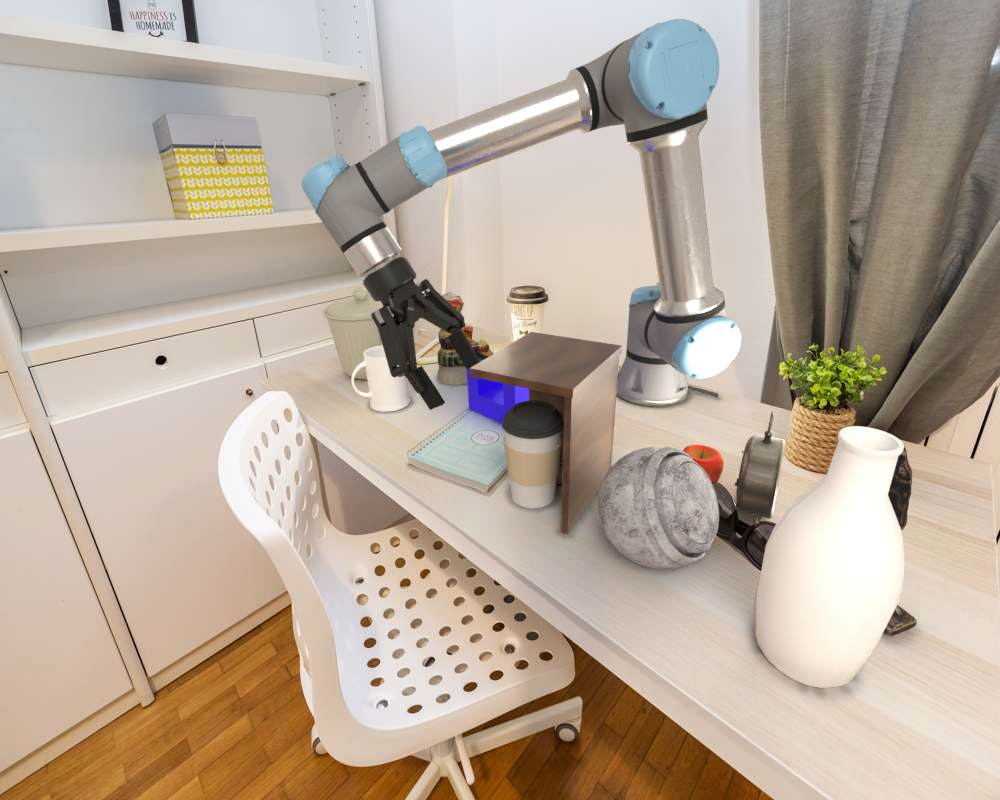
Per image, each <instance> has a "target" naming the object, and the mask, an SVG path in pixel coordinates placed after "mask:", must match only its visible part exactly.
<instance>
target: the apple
mask: <svg viewBox="0 0 1000 800" xmlns="http://www.w3.org/2000/svg"><path fill="white" fill-rule="evenodd" d="M682 451H684V452H686V453H687V454H689V455H690V456H691V457H692V458H693V461H695V462H697V464H699V465H700V466H701V467H702V468H703V469H704V470H705V472H706V473H707V474H708V476H709V478H710V480H711V482H715V483H717V484H718V483H719V481H720V478H721V476H722V473H723V471H724V464H725V462H724V458H723V456H722V453H721V452H719V451H718V450H717V449H715V448H713V447H710V446H707V445H702V444H690V445H687V446H685V447H684V449H683V450H682Z"/></svg>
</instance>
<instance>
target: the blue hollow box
mask: <svg viewBox="0 0 1000 800" xmlns="http://www.w3.org/2000/svg"><path fill="white" fill-rule="evenodd" d="M480 362H481V360H480ZM467 383H468V384H467V396H468V398H467V399H468V409H469V410H470V411H473V412H475V413H476V414H478V415H482V416H483V417H486V418H489V419H490V420H493V421H495V422H496V423H499V424H500V425H502V421H503V419H504V416H505V414H506V413H507V412H508V411H509V410H510V409H511V408H512V407H513V406H514V405H515V404H517V403H520V402H523V401H529V389H527V388H522V387H518V386H513V385H508V384H503V383H499V382H494V381H489V380H485V379H480V378H475V377H470V371H469V369H467Z"/></svg>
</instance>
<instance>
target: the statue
mask: <svg viewBox="0 0 1000 800" xmlns="http://www.w3.org/2000/svg"><path fill="white" fill-rule="evenodd" d="M912 485H913V470H912V467H911V465H910V463H909V459H908V452H907V448H906V446H904V450H903V452H902V453H901V454H900V455H899V456H898V459H897V463H896V467H895V470H894V474H893V478H892V481H891V485H890V489H889V492H888V496H889V499H890V502H891V504H892V507H893V510H894V512H895V515H896V517H897V520H898V523H899V525H900V528H901V531H902V532H903V530H904V529H905V527H906V526H907V524H908V510H909V507H910V506H909V505H910V499H911V495H912ZM917 623H918V621H917V619H916V618H915V617H914V616H913V615H912V614H911V613H909V612H908V611H906V610H905V609H904V608H903V607H901V606H900V605H899V604H897V606H896V608H895V610H894V612H893V614H892V616H891V618H890V620H889V622H888V624H887V626H886V628H885V630H884V632H885V633H886V634H888V635H890V636H894V635H898V634H901V633H903V632H906V631H908V630H911V629H913V628H915V627H916V626H917Z"/></svg>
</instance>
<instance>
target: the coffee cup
mask: <svg viewBox="0 0 1000 800" xmlns="http://www.w3.org/2000/svg"><path fill="white" fill-rule="evenodd" d="M501 427H502V429H503V433H504V434H503V446H504V453H505V462H506V469H507V475H508V478H509V484H510V494H511V499H512V500H513V502H514V503H515V504H517V505H518V506H520V507H522V508H527V509H540V508H543V507H547V506H549V505H550V504H551V503H552V502H553V501H555V498H556V490H557V481H558V475H559V469H560V455H561V447H562V429H563V428H564V421H563V417H562V414H561V413H560V412H559V411H558V410H557V409H556V408H555V407H554V406H553V405H551V404H550V403H547V402H544V401H537V400H530V401H523V402H520V403H517V404H515V405H514V406H513V407H512V408H511V409H510V410H509V411H508V412H507V413H506V414H505V416H504V419H503V421H502V424H501Z"/></svg>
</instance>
